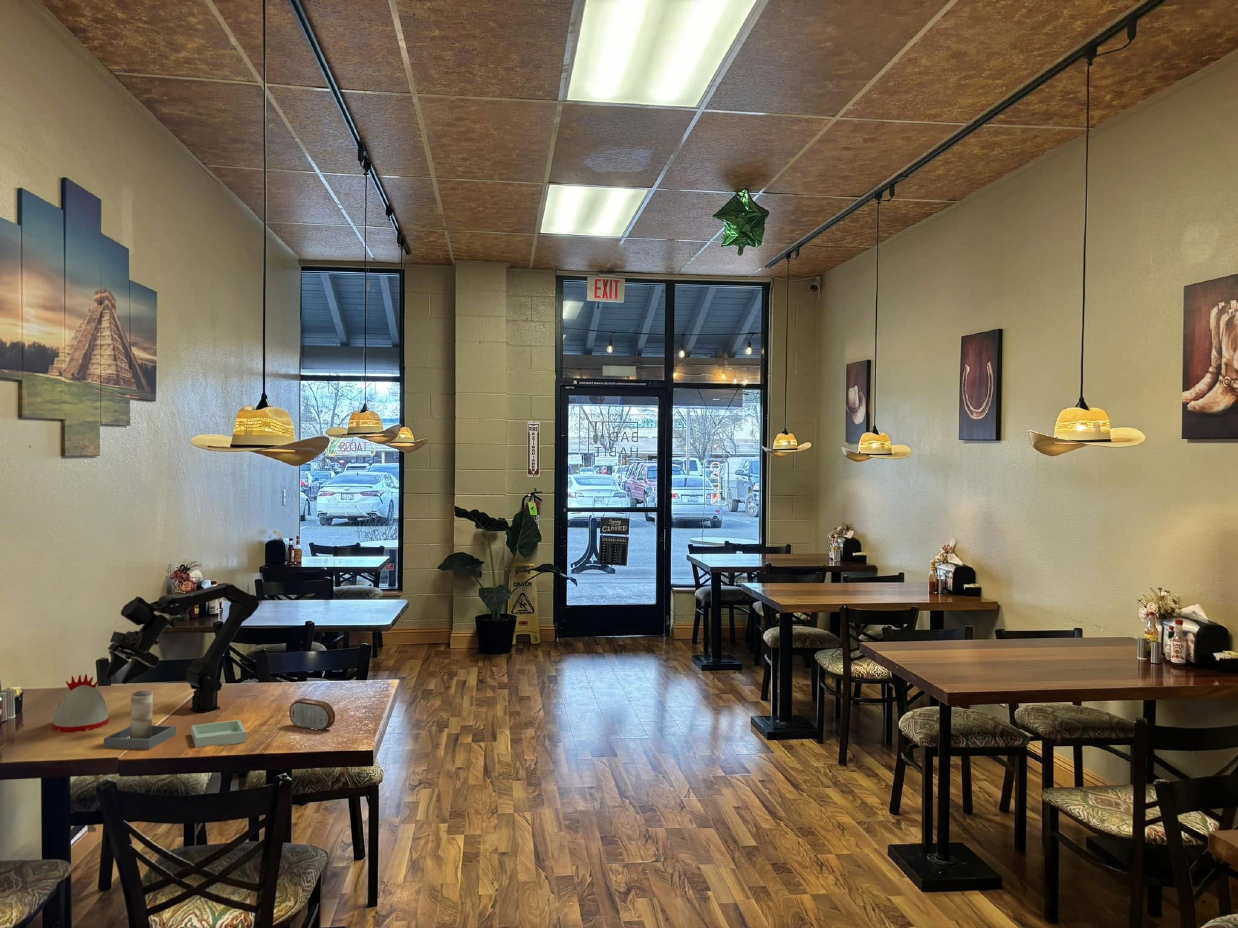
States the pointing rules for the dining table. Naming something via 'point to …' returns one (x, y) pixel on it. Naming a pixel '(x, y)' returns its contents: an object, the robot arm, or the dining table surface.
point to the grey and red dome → (81, 708)
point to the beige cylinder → (141, 715)
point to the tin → (312, 714)
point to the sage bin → (218, 733)
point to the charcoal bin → (123, 742)
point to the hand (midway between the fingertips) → (114, 680)
